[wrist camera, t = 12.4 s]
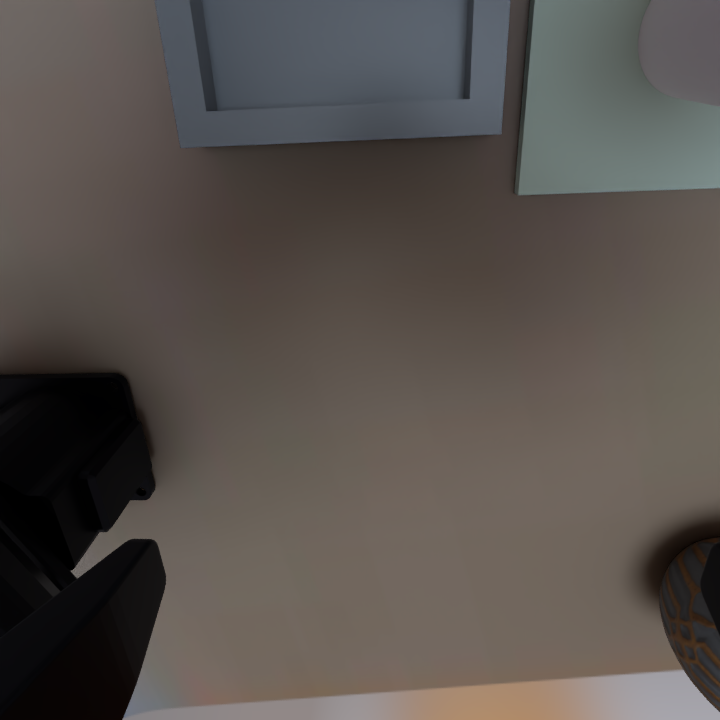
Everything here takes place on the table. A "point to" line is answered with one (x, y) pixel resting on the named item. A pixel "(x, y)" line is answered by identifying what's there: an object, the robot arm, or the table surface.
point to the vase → (692, 620)
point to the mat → (604, 109)
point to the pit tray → (333, 69)
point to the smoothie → (682, 49)
